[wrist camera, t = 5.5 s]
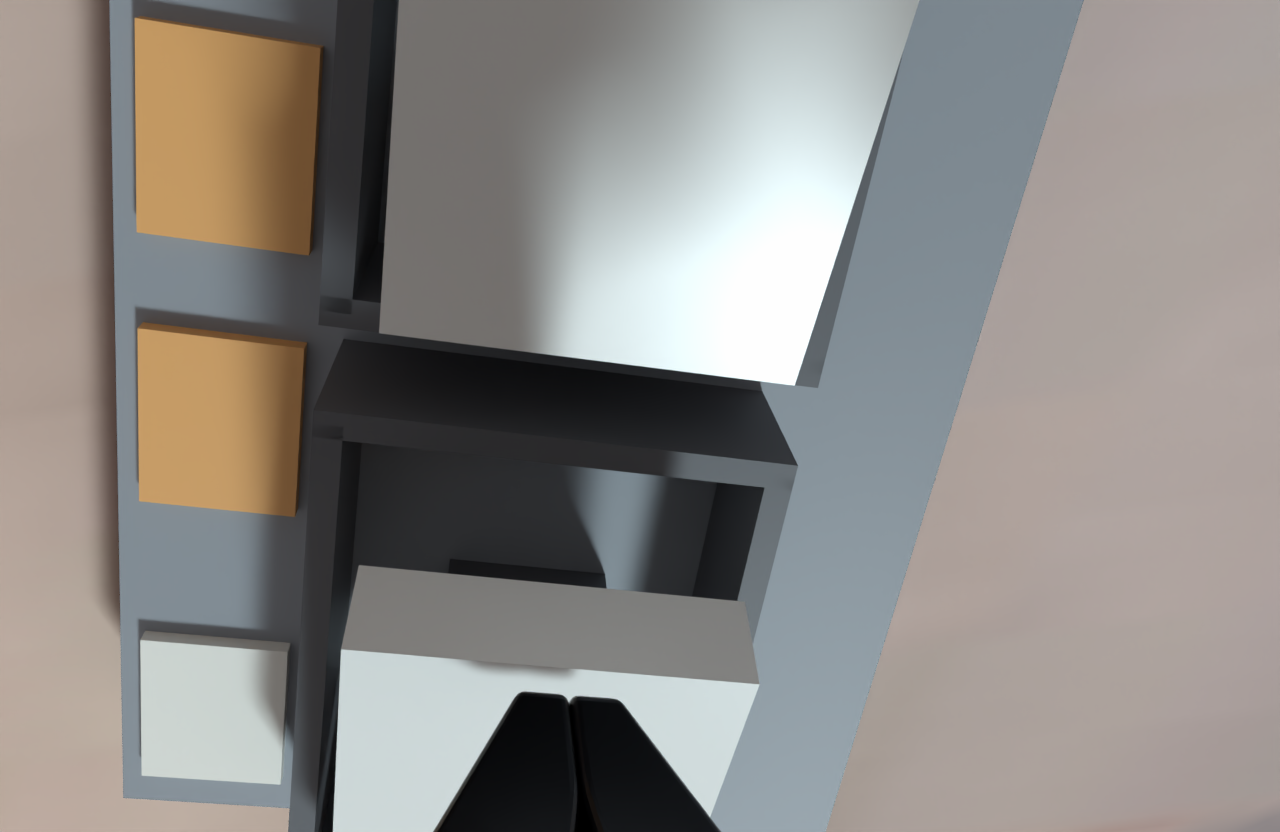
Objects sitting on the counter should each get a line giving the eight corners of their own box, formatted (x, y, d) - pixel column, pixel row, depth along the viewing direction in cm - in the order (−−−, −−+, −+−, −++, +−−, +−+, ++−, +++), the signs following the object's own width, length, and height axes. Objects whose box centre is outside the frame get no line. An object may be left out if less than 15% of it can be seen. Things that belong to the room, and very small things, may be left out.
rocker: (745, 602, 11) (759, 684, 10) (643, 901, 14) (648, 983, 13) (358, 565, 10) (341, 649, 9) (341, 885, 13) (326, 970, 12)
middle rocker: (971, -314, 8) (1018, -304, 7) (777, 325, 11) (795, 385, 10) (440, -435, 7) (425, -440, 6) (393, 274, 10) (379, 333, 9)
